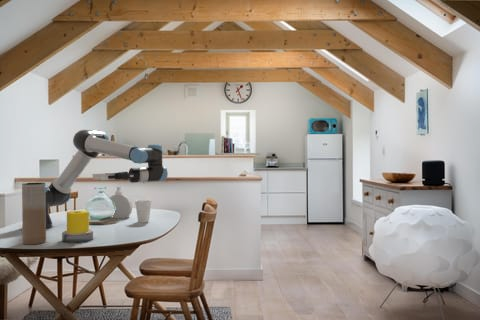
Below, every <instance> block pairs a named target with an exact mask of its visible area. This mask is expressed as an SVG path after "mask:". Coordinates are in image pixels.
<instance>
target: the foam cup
mask: <svg viewBox="0 0 480 320" xmlns="http://www.w3.org/2000/svg"><path fill="white" fill-rule="evenodd" d="M134 203H135V209H136V217H137V223H140V224H144V223H143V222H147V223H150V217H151V216H150V215H151V207H152V199H145V198H143V199H141V198H140V199H135V201H134Z"/></svg>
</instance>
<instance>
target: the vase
mask: <svg viewBox="0 0 480 320" xmlns="http://www.w3.org/2000/svg"><path fill="white" fill-rule="evenodd" d="M45 185H46V182H23V183H21V208H22V210H21V216H22V217H21V218H22V219H21V221H22V222H21V223H22V224H23V229H22V244H23V245H28V246H29V245H30V246H34V245H40V244H41V245H42V244H44V243H46V241H47V229H46V198H45Z"/></svg>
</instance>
